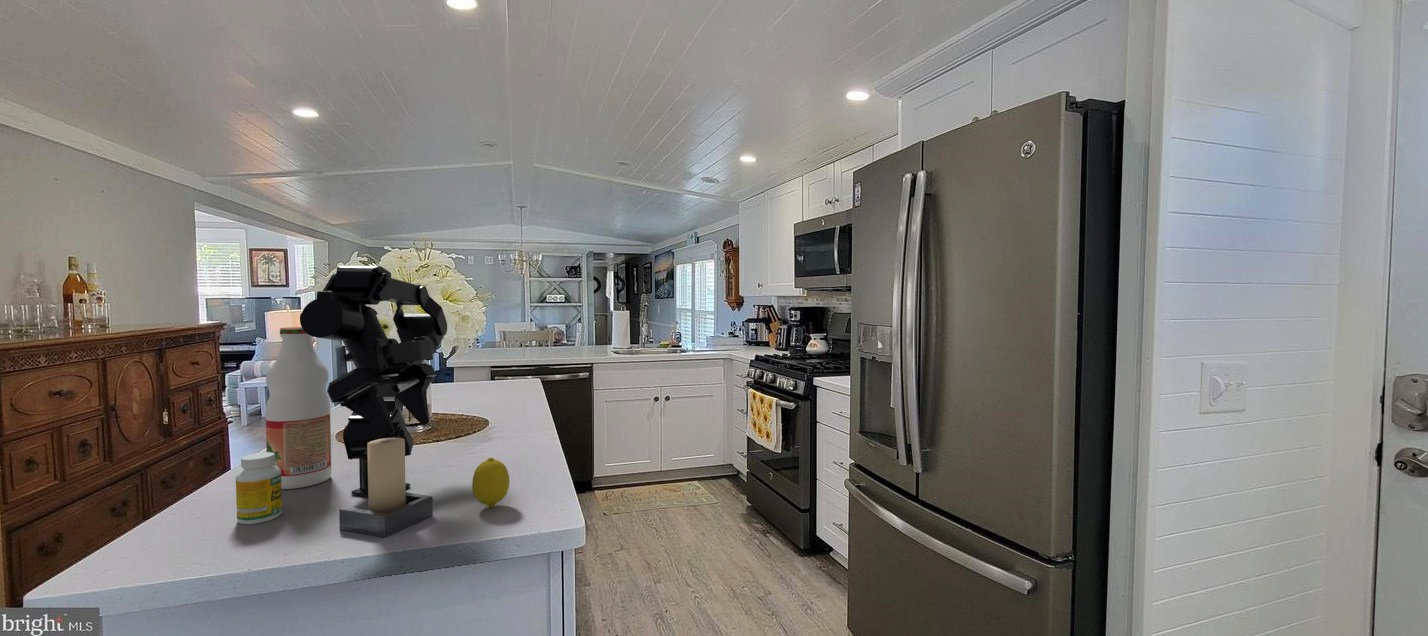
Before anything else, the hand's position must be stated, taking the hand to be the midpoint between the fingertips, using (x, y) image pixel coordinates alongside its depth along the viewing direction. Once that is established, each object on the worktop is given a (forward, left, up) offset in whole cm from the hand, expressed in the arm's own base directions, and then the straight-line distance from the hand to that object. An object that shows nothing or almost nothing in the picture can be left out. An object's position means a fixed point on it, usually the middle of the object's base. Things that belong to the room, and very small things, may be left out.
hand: (409, 428), depth 89 cm
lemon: (+11, +5, -13) cm, 18 cm away
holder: (+1, -5, -13) cm, 14 cm away
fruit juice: (-30, +4, -13) cm, 33 cm away
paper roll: (+1, -5, -12) cm, 13 cm away
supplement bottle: (-19, -10, -13) cm, 25 cm away
